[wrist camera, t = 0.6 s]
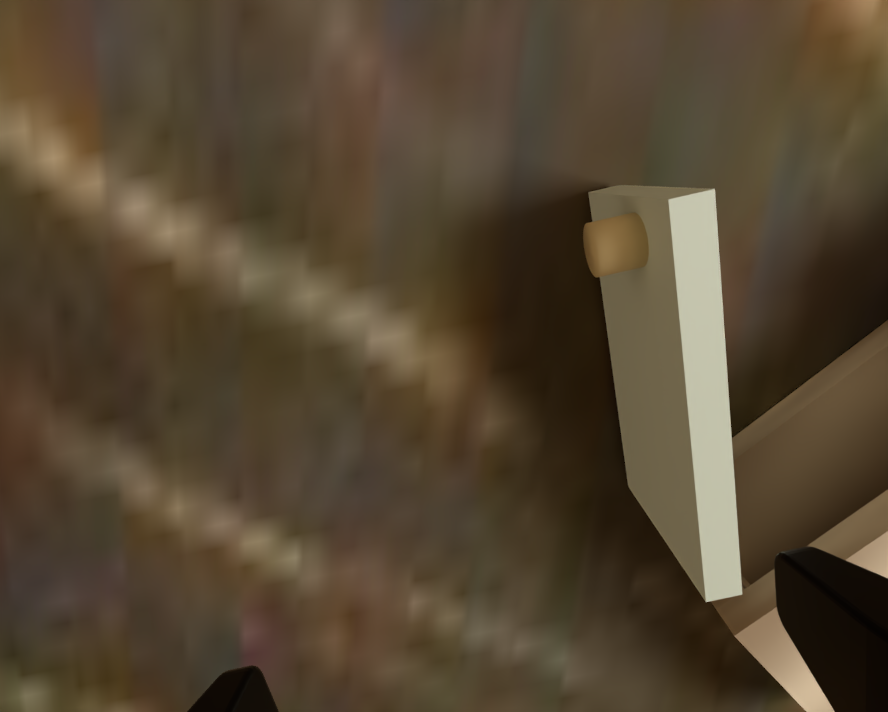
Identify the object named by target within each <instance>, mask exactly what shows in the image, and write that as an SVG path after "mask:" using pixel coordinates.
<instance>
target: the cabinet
mask: <svg viewBox="0 0 888 712" xmlns="http://www.w3.org/2000/svg"><path fill="white" fill-rule="evenodd" d="M732 449H733V464H734V479H735V493H736V508H737V523H738V537H739V552H740V567H741V581H742V595H738V596H733V597H729V598H724V599H719V600H714V601H711V603H712V604H713V606H714V607H715V609H716V610H717V612H718V613H719V615H720V616H721V617H722V619H723V620H724V622H725V623H726V625H727V626H728V628H729V629H730V631H731V632H732V634H733V635H734V636H735V637H736V638H737V639H738V641H739V642H740V643H741V644H742V645H743V646H744V647H745V648H746V649H747V650H748V651H749V652H750V653H751V654H752V655H753V656H754V657H755V658H756V659H757V660H758V661H759V662H760V664H761V665H762V666H763V667H764V668H765V669H766V670H767V671H768V672H769V673H770V674H771V675H772V676H773V677H774V678H775V679H776V680H777V681H778V682H779V683H780V684H781V685H782V687H783V688H784V689H785V690H786V691H787V692H788V693H789V694H790V695H791V696H792V697H793V698H794V699H795V700H796V701H797V702H798V703H799V704H800V705H801V706H802V707H803V708H804V710H805V711H806V712H835V711H834V710H833V708H832V706H831V705H830V703H829V702H828V700H827V698H826V697H825V695H824V693H823V692H822V690H821V688H820V687H819V685H818V683H817V682H816V680H815V678H814V677H813V675H812V673H811V672H810V670H809V668H808V667H807V665H806V663H805V662H804V660H803V658H802V657H801V655H800V653H799V652H798V650H797V648H796V647H795V645H794V643H793V642H792V640H791V638H790V637H789V635H788V633H787V632H786V630H785V628H784V627H783V625H782V622H781V620H780V618H779V615H778V611H777V606H776V590H775V571H774V560H775V557H776V555H777V554H778V553H780V552H782V551H787V550H791V549H796V548H801V547H807V546H811V547H815V548H818V549H820V550H823V551H825V552H827V553H830V554H832V555H834V556H837V557H839V558H841V559H844V560H846V561H848V562H851V563H853V564H855V565H858V566H860V567H863V568H865V569H867V570H870V571H872V572H874V573H877V574H879V575H881V576H884V577H886V578H888V320H887V321H886V322H885V323H883V324H882V325H881V326H879V327H878V328H877V329H875V330H874V331H873V332H871V333H870V334H869V335H867V336H866V337H865V338H863V339H862V340H861V341H859V342H858V343H857V344H855V345H854V346H853V347H852V348H850V349H849V350H848V351H846V352H845V353H844V354H842V355H841V356H840V357H838V358H837V359H836V360H834V361H833V362H832V363H830V364H829V365H828V366H826V367H825V368H824V369H823V370H821V371H820V372H819V373H817V374H816V375H815V376H813V377H812V378H811V379H809V380H808V381H807V382H805V383H804V384H803V385H801V386H800V387H799V388H797V389H796V390H795V391H794V392H792V393H791V394H790V395H788V396H787V397H786V398H784V399H783V400H782V401H780V402H779V403H778V404H776V405H775V406H774V407H772V408H771V409H770V410H768V411H767V412H766V413H764V414H763V415H762V416H761V417H759V418H758V419H757V420H755V421H754V422H753V423H751V424H750V425H749V426H747V427H746V428H745V429H743V430H742V431H741V432H739V433H738V434H737V435H735V436H734V437H733V438H732Z"/></svg>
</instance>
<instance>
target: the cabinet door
mask: <svg viewBox="0 0 888 712" xmlns="http://www.w3.org/2000/svg"><path fill="white" fill-rule="evenodd" d="M588 194H589V201H590V209H591V216H592V222H589V223H586V224H585V225H584V229H583V244H584V251H585V256H586V260H587V263H588V266H589V269H590V271H591V273H592V274H593V276H594V277H596V278H597V277H600V282H601V290H602V297H603V305H604V312H605V319H606V327H607V334H608V342H609V349H610V356H611V364H612V371H613V378H614V386H615V393H616V401H617V408H618V415H619V423H620V430H621V437H622V445H623V452H624V460H625V467H626V474H627V482H628V487H629V489H630V490H631V492H632V493H633V495H634V496H635V498H636V499H637V500H638V502H639V503H640V505H641V506H642V508H643V509H644V511H645V512H646V514H647V515H648V517H649V518H650V520H651V521H652V523H653V524H654V526H655V527H656V529H657V530H658V532H659V533H660V535H661V536H662V538H663V539H664V541H665V542H666V544H667V545H668V547H669V548H670V550H671V551H672V553H673V554H674V555H675V557H676V558H677V560H678V561H679V563H680V564H681V566H682V567H683V569H684V570H685V572H686V573H687V575H688V576H689V578H690V579H691V581H692V582H693V584H694V585H695V587H696V588H697V590H698V591H699V593H700V594H701V596H702V597H703V599H704V600H705V602H709V601H714V600H719V599H724V598H729V597H733V596H738V595H742V581H741V567H740V552H739V537H738V523H737V508H736V493H735V479H734V464H733V449H732V435H731V420H730V405H729V391H728V376H727V361H726V347H725V332H724V317H723V303H722V288H721V273H720V259H719V244H718V229H717V215H716V200H715V189H705V188H681V187H657V186H632V185H617V186H613V187H609V188H604V189H600V190H596V191H591V192H588Z"/></svg>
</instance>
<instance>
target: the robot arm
mask: <svg viewBox="0 0 888 712" xmlns="http://www.w3.org/2000/svg"><path fill="white" fill-rule="evenodd" d="M774 571H775V590H776V606H777V611H778V615H779V618H780V620H781V622H782V625H783V627H784V628H785V630H786V632H787V633H788V635H789V637H790V638H791V640H792V642H793V643H794V645H795V647H796V648H797V650H798V652H799V653H800V655H801V657H802V658H803V660H804V662H805V663H806V665H807V667H808V668H809V670H810V672H811V673H812V675H813V677H814V678H815V680H816V682H817V683H818V685H819V687H820V688H821V690H822V692H823V693H824V695H825V697H826V698H827V700H828V702H829V703H830V705H831V706H832V708H833V710H834V711H835V712H888V578H886V577H884V576H881V575H879V574H877V573H874V572H872V571H870V570H867V569H865V568H863V567H860V566H858V565H855V564H853V563H851V562H848V561H846V560H844V559H841V558H839V557H837V556H834V555H832V554H830V553H827V552H825V551H823V550H820V549H818V548H815V547H811V546H807V547H801V548H796V549H791V550H787V551H782V552H780V553H778V554H777V555H776V557H775V560H774ZM187 712H278V709H277V706H276V704H275V702H274V699H273V697H272V695H271V692H270V690H269V687H268V685H267V683H266V680H265V678H264V676H263V673H262V672H261V670H260V669H259V668H258V667H256V666H246V667H242V668H237V669H233V670H228V671H226V672H224V673H222V674H221V675H220V676H219V677H218V678H217V679H216V680H215V681H214V682H213V684H212V685H211V686H210V687H209V688H208V689H207V690H206V691H205V692H204V694H203V695H202V696H201V697H200V698H199V699H198V700H197V701H196V702H195V704H194V705H193V706H192V707H191V708H190V709H189V710H188V711H187Z"/></svg>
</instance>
